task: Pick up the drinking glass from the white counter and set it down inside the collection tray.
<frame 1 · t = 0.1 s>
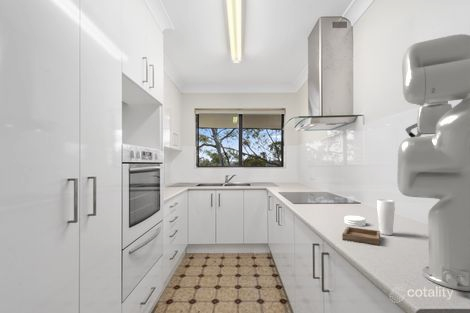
hand: (435, 149, 87), 37 cm above the worktop, tool pointing down, fingers open, 9 cm apart
drinking glass: (386, 234, 108), on the worktop
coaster: (354, 224, 126), on the worktop
tray: (361, 238, 102), on the worktop
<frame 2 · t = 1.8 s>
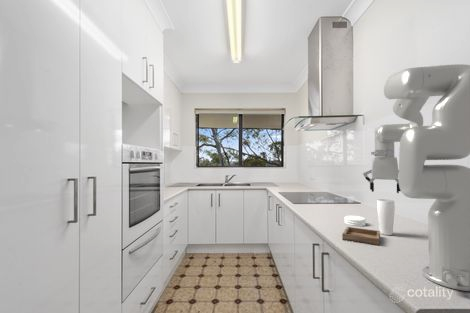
hand: (385, 192, 109), 19 cm above the worktop, tool pointing down, fingers open, 9 cm apart
nothing on the worktop moved.
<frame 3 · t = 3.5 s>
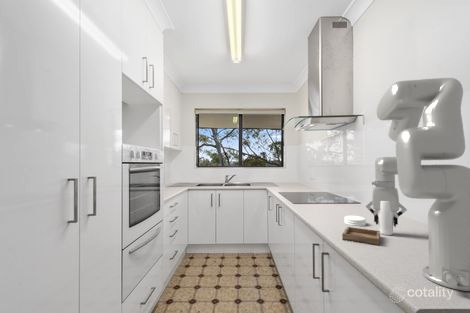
hand: (385, 224, 109), 4 cm above the worktop, tool pointing down, fingers closed on drinking glass, 6 cm apart
drinking glass: (386, 234, 108), on the worktop, touching gripper
everything else where it was.
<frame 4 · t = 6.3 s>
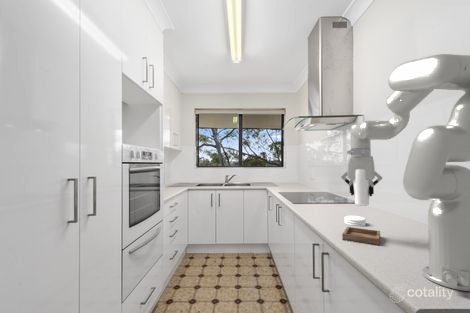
hand: (361, 195, 102), 18 cm above the worktop, tool pointing down, fingers closed on drinking glass, 6 cm apart
drinking glass: (361, 205, 102), point 14 cm above the worktop, touching gripper
everything else where it was.
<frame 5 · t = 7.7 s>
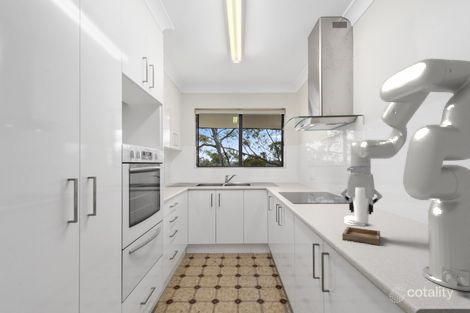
hand: (361, 212, 103), 11 cm above the worktop, tool pointing down, fingers closed on drinking glass, 6 cm apart
drinking glass: (361, 222, 103), point 7 cm above the worktop, touching gripper
everything else where it was.
when the fingers open (6 cm above the worktop, at t = 9.0 s): drinking glass drops 1 cm, resting on tray.
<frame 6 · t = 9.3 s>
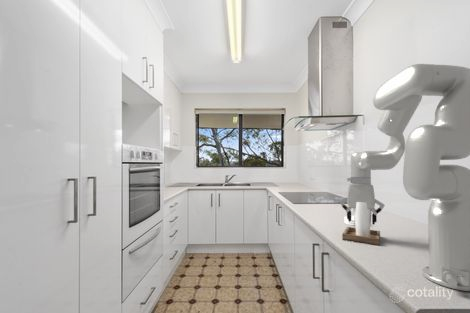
hand: (361, 222, 102), 7 cm above the worktop, tool pointing down, fingers open, 8 cm apart
drinking glass: (362, 237, 102), resting on tray
everything else where it was.
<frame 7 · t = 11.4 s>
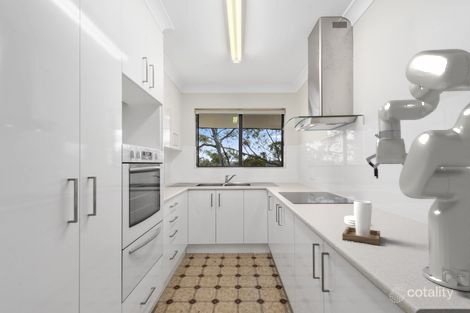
hand: (391, 178, 97), 26 cm above the worktop, tool pointing down, fingers open, 9 cm apart
nothing on the worktop moved.
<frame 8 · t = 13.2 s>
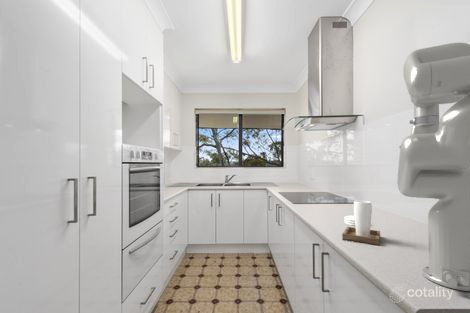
hand: (427, 167, 91), 30 cm above the worktop, tool pointing down, fingers open, 9 cm apart
nothing on the worktop moved.
at the end: drinking glass inside the target area on the tray (0.5 cm from its centre), point 0.4 cm above the tray's base; drinking glass tilted 0°; the gripper is holding nothing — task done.
